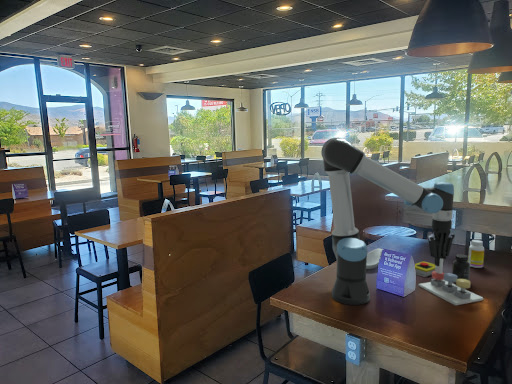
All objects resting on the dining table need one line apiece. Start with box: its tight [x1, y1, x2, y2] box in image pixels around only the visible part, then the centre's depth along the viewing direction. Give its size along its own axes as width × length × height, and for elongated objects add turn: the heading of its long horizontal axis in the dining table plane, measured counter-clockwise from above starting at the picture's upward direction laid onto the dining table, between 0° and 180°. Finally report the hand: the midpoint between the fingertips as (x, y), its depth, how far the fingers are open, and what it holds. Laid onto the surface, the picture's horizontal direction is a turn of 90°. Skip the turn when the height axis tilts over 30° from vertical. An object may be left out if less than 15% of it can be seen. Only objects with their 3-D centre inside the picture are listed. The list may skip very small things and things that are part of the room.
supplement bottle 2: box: [467, 239, 485, 269], centre depth 190 cm, size 7×7×13 cm
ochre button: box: [455, 279, 471, 291], centre depth 153 cm, size 5×5×4 cm
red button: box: [431, 271, 445, 282], centre depth 165 cm, size 5×5×4 cm
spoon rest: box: [366, 247, 383, 270], centre depth 194 cm, size 24×12×7 cm, turn 131°
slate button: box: [444, 272, 457, 285], centre depth 159 cm, size 5×5×4 cm
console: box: [418, 278, 484, 306], centre depth 159 cm, size 14×20×3 cm
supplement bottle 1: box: [451, 253, 471, 284], centre depth 170 cm, size 7×7×12 cm
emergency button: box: [414, 260, 435, 278], centre depth 185 cm, size 9×4×15 cm
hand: (438, 272), depth 165 cm, fingers closed
